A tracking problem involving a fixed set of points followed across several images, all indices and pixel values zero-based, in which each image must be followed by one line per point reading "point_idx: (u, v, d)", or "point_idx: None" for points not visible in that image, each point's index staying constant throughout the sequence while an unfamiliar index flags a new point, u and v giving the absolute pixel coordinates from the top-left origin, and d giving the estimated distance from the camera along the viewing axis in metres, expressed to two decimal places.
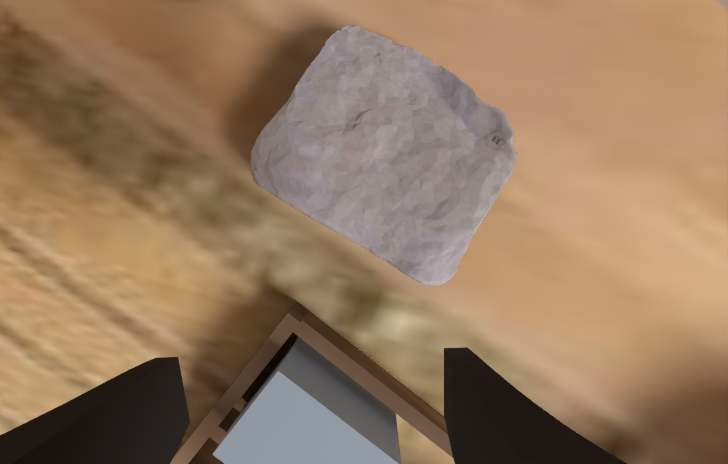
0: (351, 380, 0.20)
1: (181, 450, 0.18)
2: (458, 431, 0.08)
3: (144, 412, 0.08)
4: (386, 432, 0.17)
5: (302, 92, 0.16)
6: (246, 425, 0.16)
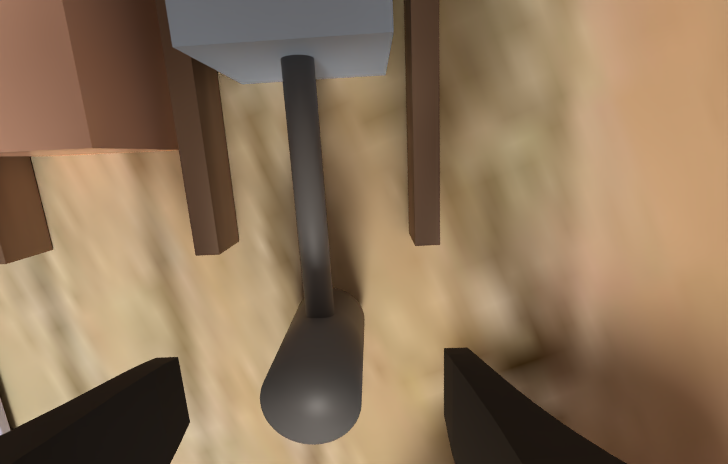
0: None
1: None
2: (458, 431, 0.08)
3: (144, 412, 0.08)
4: None
5: None
6: None
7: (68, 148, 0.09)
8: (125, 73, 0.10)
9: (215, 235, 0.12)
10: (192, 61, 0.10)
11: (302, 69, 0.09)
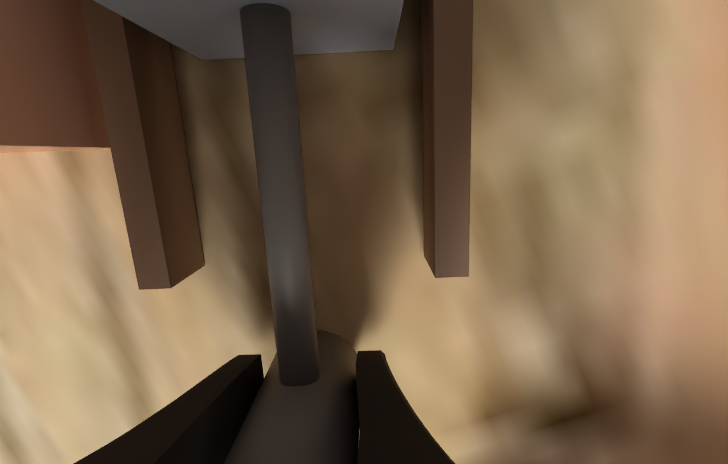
0: None
1: None
2: None
3: (240, 409, 0.08)
4: None
5: None
6: None
7: None
8: (21, 36, 0.07)
9: (164, 262, 0.09)
10: (124, 22, 0.07)
11: (271, 26, 0.06)
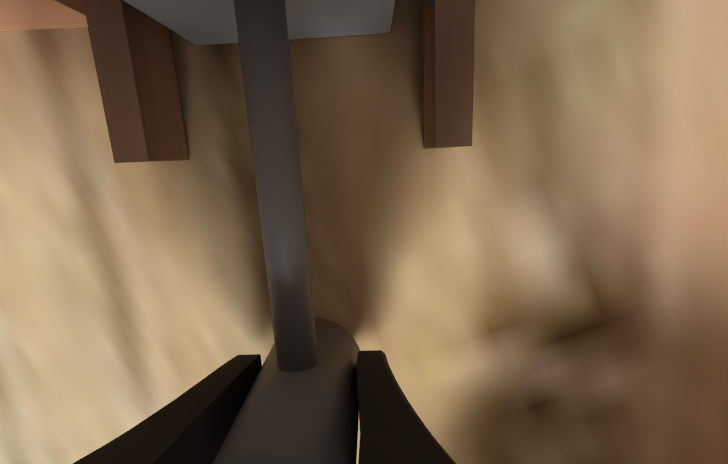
0: None
1: None
2: (360, 434, 0.08)
3: None
4: None
5: None
6: None
7: None
8: None
9: (142, 131, 0.08)
10: None
11: (264, 2, 0.06)
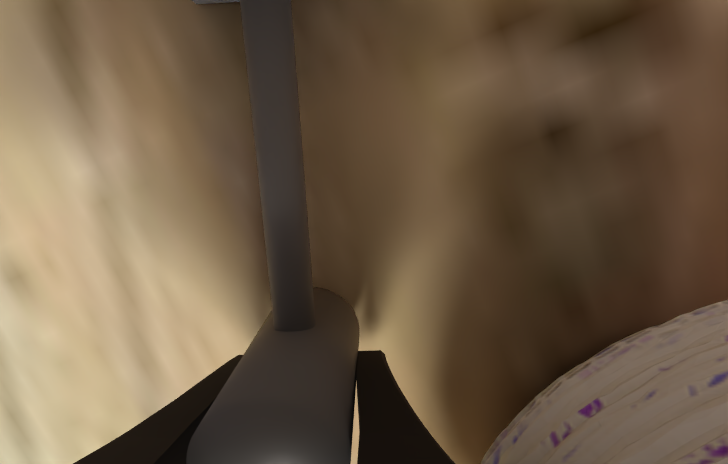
0: None
1: None
2: None
3: None
4: None
5: None
6: None
7: None
8: None
9: None
10: None
11: None
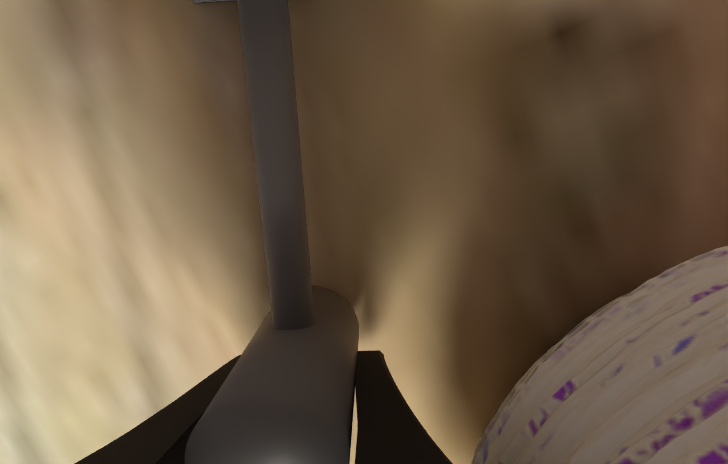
0: None
1: None
2: None
3: None
4: None
5: None
6: None
7: None
8: None
9: None
10: None
11: None
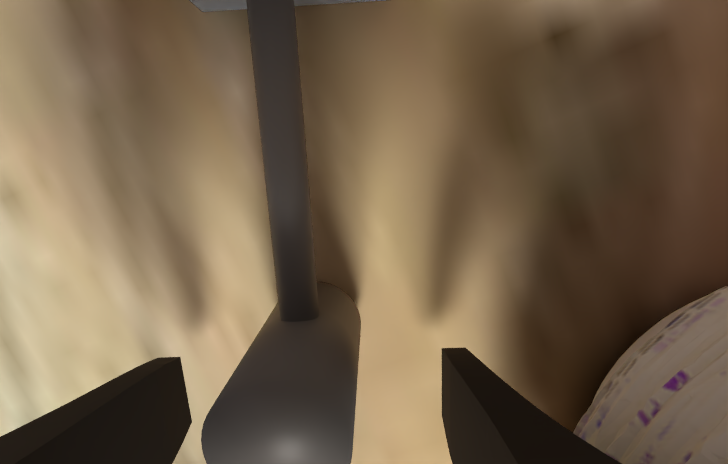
0: None
1: None
2: (456, 431, 0.08)
3: (146, 412, 0.08)
4: None
5: None
6: None
7: None
8: None
9: None
10: None
11: None
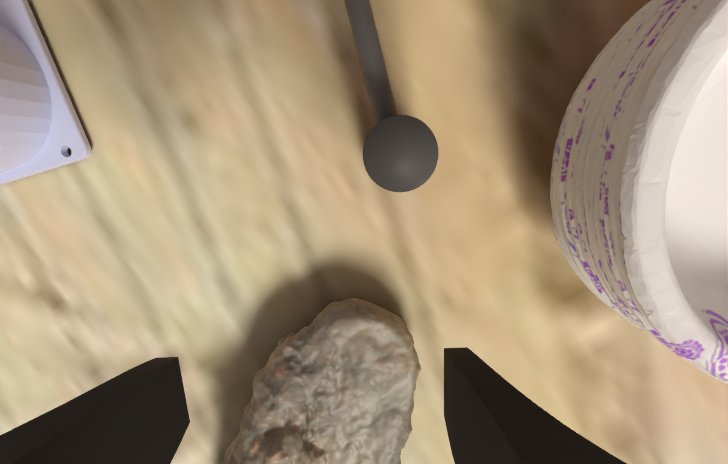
0: None
1: None
2: (458, 431, 0.08)
3: (144, 412, 0.08)
4: None
5: None
6: None
7: None
8: None
9: None
10: None
11: None
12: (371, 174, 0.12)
